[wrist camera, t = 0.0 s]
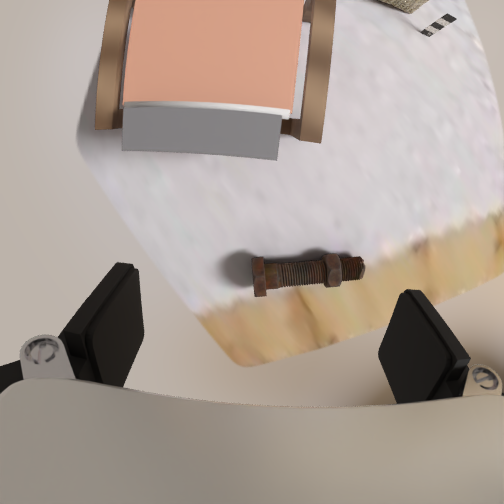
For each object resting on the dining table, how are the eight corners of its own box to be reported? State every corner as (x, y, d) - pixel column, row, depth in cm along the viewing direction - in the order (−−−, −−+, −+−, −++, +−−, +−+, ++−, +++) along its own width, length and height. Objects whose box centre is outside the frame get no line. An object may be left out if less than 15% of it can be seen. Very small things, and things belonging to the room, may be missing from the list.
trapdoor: (146, 2, 24) (129, -12, 20) (300, 6, 25) (307, -10, 20) (131, 144, 31) (112, 150, 26) (283, 155, 31) (288, 162, 27)
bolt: (354, 260, 47) (252, 269, 47) (361, 239, 42) (250, 248, 43) (363, 295, 43) (255, 305, 43) (371, 275, 39) (253, 287, 39)
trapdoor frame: (145, 3, 30) (114, -24, 20) (318, 10, 31) (337, -20, 21) (132, 124, 37) (94, 129, 27) (304, 136, 38) (320, 143, 28)
